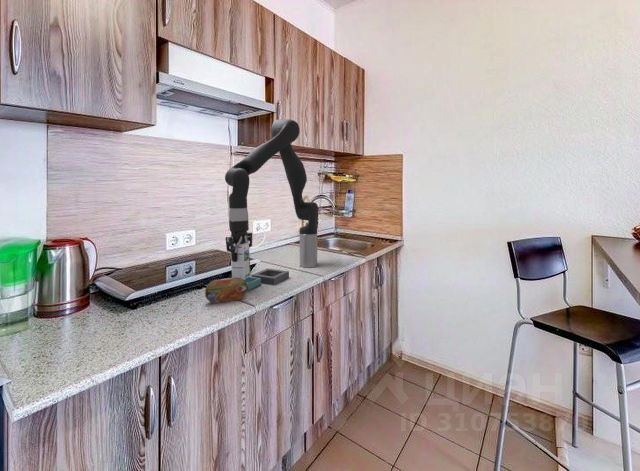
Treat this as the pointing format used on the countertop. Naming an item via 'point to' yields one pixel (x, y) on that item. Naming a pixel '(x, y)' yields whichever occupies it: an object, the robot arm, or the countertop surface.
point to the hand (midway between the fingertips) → (240, 259)
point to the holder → (271, 276)
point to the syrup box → (241, 262)
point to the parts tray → (252, 282)
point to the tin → (226, 290)
